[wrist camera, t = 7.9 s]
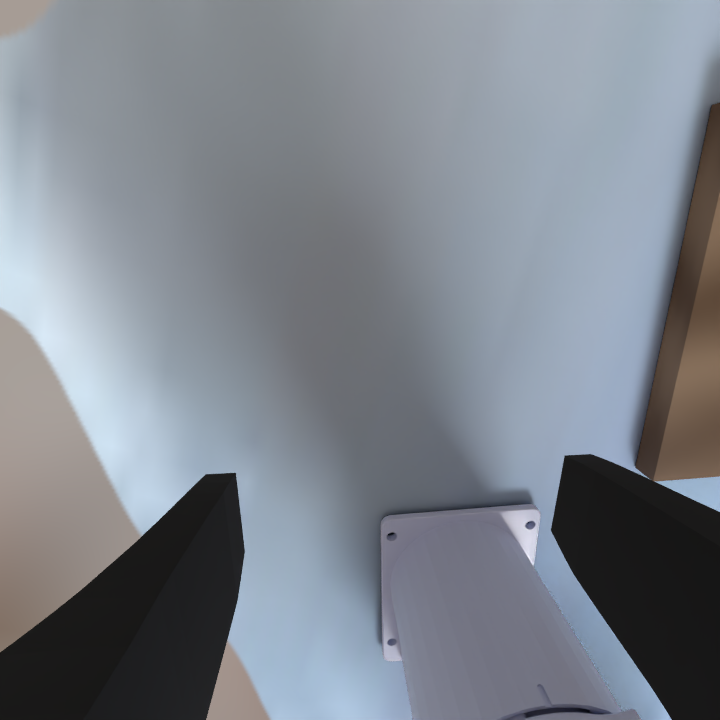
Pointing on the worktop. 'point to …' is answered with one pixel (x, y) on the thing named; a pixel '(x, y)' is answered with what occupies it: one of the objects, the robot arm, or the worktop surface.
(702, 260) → the cleat board
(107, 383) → the worktop surface
